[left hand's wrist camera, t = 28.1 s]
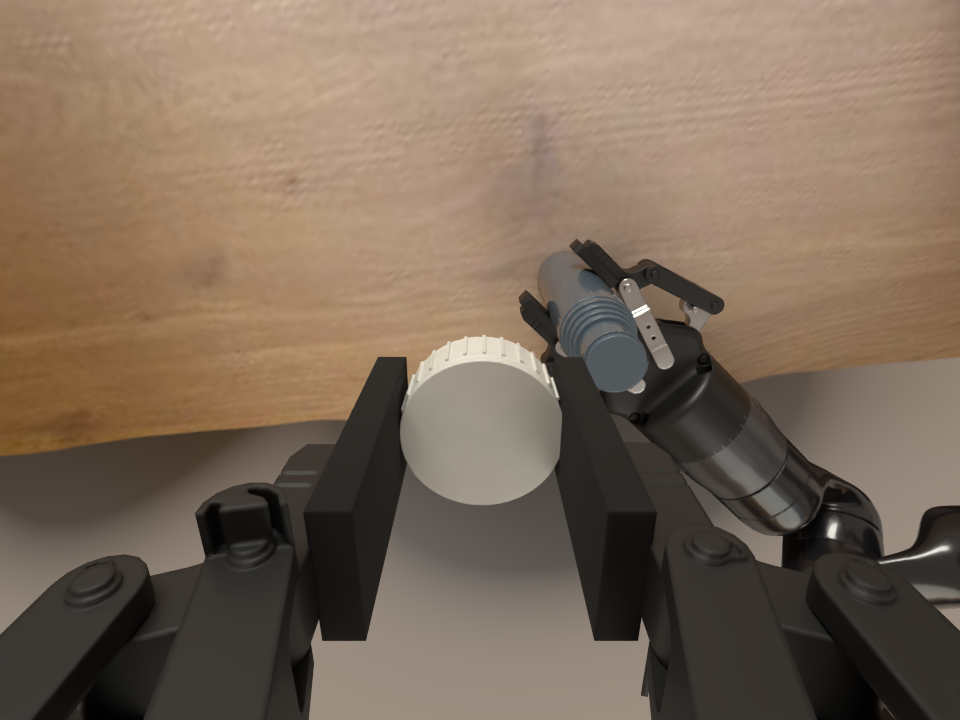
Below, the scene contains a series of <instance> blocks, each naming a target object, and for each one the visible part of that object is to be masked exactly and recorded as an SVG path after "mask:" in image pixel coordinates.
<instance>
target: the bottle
mask: <svg viewBox="0 0 960 720" xmlns="http://www.w3.org/2000/svg"><path fill="white" fill-rule="evenodd" d="M538 285H539V288H540V291H541V294H542V296H543V299H544V302H545V305H546V307H547V310H548V313H549V315H550V318H551V321H552V323H553V326H554V329H555V331H556V334H557V337H558V340H559V342H560V345H561V348H562V350H563V352H564V353H565V355H566V356H567V357H582V358H583V360H584V362H585V364H586V366H587V368H588V370H589V372H590V374H591V376H592V378H593V380H594V382H595V385H596V387H597V388H598V389H599V390H602V391H605V392H612V393H617V392H624V391H626V390H628V389H631V388H633V387H634V386H635V385H637V384H638V383H639V382H640V381H641V380H642V378H644V376H645V374H646V372H647V370H648V364H649V362H648V361H647V356H646V351H645V348H644V346H643V344H642V343H641V341H640V340H639V339H638V332H637V325H636V321H635V319H634V317H633V315H632V313H631V311H630V310H629V308H628V307H627V306H626V305H625V304H624V303H623V302H622V301H621V300H620V299H619V297H618V296H617V295H616V294H615V293H614V292H613V291H612V290H611V289H610V288H609V286H608V285H607V284H606V283H605V282H604V281H603V280H602V279H601V278H600V277H599V276H598V275H597V274H596V273H595V272H594V271H593V270H592V269H591V268H590V267H589V266H588V265H587V264H586V263H585V262H584V261H583V260H582V259H581V258H580V257H579V256H578V255H577V254H575V253H572V252H559V253H556V254H553V255H551V256H550V257H548V258H547V259H546V260H545V261H544V262H543V264H542V265H541V267H540V269H539V272H538Z"/></svg>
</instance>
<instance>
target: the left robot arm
mask: <svg viewBox="0 0 960 720" xmlns="http://www.w3.org/2000/svg"><path fill="white" fill-rule="evenodd" d="M553 379H554V382H555V385H556V388H557V391H558V394H559V397H560V400H558V401H559V405H560V408H561V411H562V427H561V442H560V457H559V460H558V462H557V464H556V466H555V472H556V477H557V481H558V485H559V490H560V494H561V498H562V502H563V507H564V511H565V515H566V520H567V524H568V528H569V533H570V537H571V541H572V546H573V550H574V554H575V559H576V563H577V567H578V571H579V576H580V580H581V585H582V589H583V593H584V598H585V602H586V606H587V611H588V615H589V619H590V624H591V628H592V632H593V637H594V640H595V641H638V637H639V630H640V624H641V617H642V620H643V622H644V625H645V628H646V631H647V634H648V637H649V640H650V641H649V648H648V654H647V660H646V666H645V672H644V678H643V685H642V692H641V695H642V696H646V697H648V693H649V699H650V709H651V720H895V719H896V720H960V631H959V630H958V629H957V628H956V627H955V626H954V625H953V624H952V623H951V622H950V621H949V620H948V619H947V618H946V617H945V616H944V615H943V614H942V613H941V612H940V611H939V610H938V609H937V608H936V607H935V606H933V605H932V604H931V603H930V602H929V601H928V600H927V599H926V598H925V597H924V596H923V595H922V594H921V593H920V592H919V591H918V590H917V589H916V588H915V587H914V586H913V585H912V584H911V583H909V582H908V581H907V580H905V579H904V578H903V577H902V576H900V575H899V574H898V573H896V572H895V571H894V570H892V569H890V568H888V567H886V566H884V565H882V564H880V563H878V562H876V561H874V560H871V559H868V558H865V557H861V556H858V555H855V554H847V553H837V552H835V553H830V554H825V555H822V556H821V557H820V558H819V559H817V560H816V561H815V562H814V565H813V569H812V572H811V574H809V573H804V572H800V571H795V570H791V569H787V568H782V567H778V566H773V565H770V564H767V563H763V562H760V561H757V560H756V559H755V557H754V555H753V554H752V552H751V551H750V549H749V548H748V546H747V545H746V544H745V543H744V542H742V541H741V540H740V539H739V538H737V537H736V536H735V535H733V534H731V533H729V532H727V531H725V530H723V529H721V528H718V527H714V525H713V524H712V522H711V520H710V519H709V517H708V515H707V514H706V512H705V511H704V509H703V507H702V506H701V504H700V503H699V501H698V499H697V498H696V496H695V494H694V493H693V491H692V490H691V488H690V486H687V481H686V480H685V478H684V477H683V475H682V473H680V472H679V471H680V470H679V468H678V467H677V465H676V464H675V462H674V460H673V459H672V457H671V455H669V454H668V453H667V452H665V451H664V450H662V449H661V448H660V447H658V446H657V445H656V444H654V443H624V442H623V440H622V438H621V436H620V434H619V432H618V430H617V428H616V426H615V424H614V422H613V420H612V418H611V415H610V413H609V411H608V409H607V407H606V405H605V403H604V401H603V399H602V397H601V395H600V393H599V391H598V389H597V387H596V385H595V382H594V380H593V378H592V376H591V374H590V372H589V370H588V368H587V366H586V364H585V362H584V360H583V358H582V357H554V367H553ZM407 389H408V379H407V361H406V357H378V358H377V361H376V363H375V365H374V367H373V369H372V371H371V373H370V375H369V377H368V379H367V381H366V383H365V385H364V387H363V389H362V391H361V394H360V396H359V398H358V400H357V402H356V404H355V406H354V408H353V410H352V412H351V414H350V416H349V418H348V420H347V422H346V424H345V427H344V429H343V431H342V433H341V435H340V437H339V439H338V441H337V443H336V444H307V445H306V446H304V447H303V448H302V449H300V450H299V451H298V452H296V453H295V454H294V455H292V456H291V457H290V458H289V460H288V462H287V463H286V465H285V466H284V468H283V470H282V471H281V475H279V476H278V478H277V479H276V481H275V483H274V485H273V484H269V483H247V484H242V485H238V486H233V487H231V488H228V489H226V490H223V491H221V492H219V493H216V494H215V495H214V496H212V497H211V498H209V499H208V500H206V501H205V502H204V503H203V504H202V505H201V506H200V508H199V509H198V510H197V512H196V513H195V515H196V520H197V523H198V528H199V532H200V536H201V540H202V544H203V548H204V553H205V560H204V563H201V564H198V565H195V566H191V567H188V568H184V569H179V570H175V571H170V572H166V573H161V574H157V575H153V576H150V574H149V571H148V567H147V564H146V563H145V562H143V561H142V560H141V559H140V558H139V557H135V556H130V555H116V556H107V557H104V558H100V559H97V560H94V561H91V562H88V563H86V564H84V565H82V566H80V567H78V568H76V569H74V570H72V571H70V572H68V573H67V574H65V575H64V576H63V577H61V578H60V579H59V580H58V581H56V582H55V583H54V584H52V585H51V586H50V587H49V588H48V589H47V590H46V591H45V592H44V593H43V594H42V595H41V596H40V597H39V598H38V599H37V600H36V601H35V602H34V603H32V604H31V605H30V606H29V607H28V608H27V609H26V610H25V611H24V612H23V613H22V614H21V615H20V616H19V617H18V618H17V619H16V620H15V621H14V622H13V623H12V624H11V625H10V626H9V627H8V628H7V629H6V630H5V631H4V632H3V633H2V634H1V635H0V720H309V710H310V700H311V689H312V679H313V668H314V661H313V654H312V648H311V641H312V638H313V635H314V632H315V629H316V626H317V623H318V620H319V621H320V628H321V634H322V640H323V641H366V638H367V634H368V630H369V625H370V621H371V617H372V612H373V608H374V604H375V599H376V595H377V590H378V586H379V582H380V578H381V573H382V568H383V565H384V560H385V556H386V552H387V547H388V543H389V539H390V534H391V530H392V526H393V521H394V517H395V513H396V508H397V504H398V500H399V495H400V491H401V487H402V482H403V478H404V474H405V469H406V465H407V461H406V460H405V457H404V454H403V452H402V448H401V443H400V433H399V431H400V421H401V417H402V413H401V408H402V405H403V401H404V398H405V395H406V391H407ZM885 706H886V707H887V708H886V707H885ZM887 709H888V710H889V711H890V712H889V711H888V710H887ZM74 710H75V711H74ZM890 713H891V714H892V715H893V716H892V715H891V714H890ZM71 714H72V715H71Z"/></svg>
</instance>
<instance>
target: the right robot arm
mask: <svg viewBox="0 0 960 720" xmlns="http://www.w3.org/2000/svg"><path fill="white" fill-rule="evenodd" d="M570 248H571V249H572V250H573V251H574V252H575V253H576V254H577V255H578V256H579V257H580V258H581V259H582V260H583V261H584V262H585V263H586V264H587V265H588V266H589V267H590V268H591V269H592V270H593V271H594V272H595V273H596V274H597V275H598V276H599V277H600V278H601V279H602V280H603V281H604V282H605V283H606V284H607V285H608V286H609V287H610V288H612V287H614V289H615V291H616V293H617V295H618V297H619V299H620V300H621V301H622V302H623V303H624V304H625V305H626V306H627V307H628V308H629V310H630V311H631V313H632V315H633V317H634V319H635V321H636V325H637V332H638V339H639V340H640V341H641V343H642V344H643V346H644V348H645V351H646V356H647V361H648V362H649V364H648V370H647V372H646V374H645V376H644V378H642V380H641V381H640V382H639V383H638V384H637V385H635V386H634V387H633V388H631V389H628V390H626V391H624V392H617V393H612V392H605V391H602V390H599V391H600V395H601V397H602V399H603V401H604V403H605V405H606V407H607V409H608V411H609V412H610V413H612V414H615V415H619V416H622V417H624V418H626V419H627V420H628V421H629V422H631V423H632V424H633V425H634V426H635V427H636V428H637V429H638V430H639V431H640V432H641V433H642V434H643V435H645V436H646V437H647V438H648V439H649V440H650V441H651V442H652V443H654V444H656V445H657V446H658V447H660V448H661V449H662V450H664V451H665V452H667V453H668V454H669V455H671V457H672V459H673V460H674V462H675V464H676V465H677V467H678V468H679V470H680V471H683V472H684V473H685V474H686V475H688V476H689V477H690V478H691V479H692V480H694V481H695V482H696V483H698V484H699V485H701V486H702V487H704V488H705V489H707V490H708V491H709V492H710V493H712V494H713V495H714V496H715V497H716V498H717V499H718V500H719V501H720V502H721V503H722V504H723V505H725V506H726V507H727V508H728V509H729V510H730V511H731V512H732V513H733V514H734V515H735V516H736V517H737V518H738V519H739V520H741V521H742V522H743V523H745V524H746V525H747V526H749V527H750V528H752V529H753V530H755V531H757V532H759V533H762V534H765V535H770V536H783V545H782V561H781V567H782V568H787V569H791V570H795V571H800V572H804V573H809V574H811V572H812V569H813V565H814V562H815V561H816V560H817V559H819V558H820V557H821V556H822V555H825V554H830V553H835V552H837V553H847V554H855V555H858V556H861V557H865V558H868V559H871V560H874V561H876V562H878V563H880V564H882V565H884V566H886V567H888V568H890V569H892V570H894V571H895V572H896V573H898V574H899V575H900V576H902V577H903V578H904V579H905V580H907V581H908V582H909V583H911V584H912V585H913V586H914V587H915V588H916V589H917V590H918V591H919V592H920V593H921V594H922V595H923V596H924V597H925V598H926V599H927V600H928V601H929V602H930V603H931V604H932V605H933V606H935V607H936V608H937V609H938V610H945V609H956V608H960V505H957V506H938V507H933V508H930V509H928V510H927V511H925V513H924V514H923V516H922V518H921V521H920V525H919V530H918V535H917V538H916V541H915V543H914V544H913V546H912V547H910V548H909V549H907V550H904V551H901V552H898V553H895V554H891V555H888V556H884V545H883V531H882V523H881V520H880V517H879V514H878V512H877V510H876V508H875V507H874V505H873V503H872V502H871V500H870V499H869V498H868V497H867V496H866V495H865V494H864V493H863V492H862V491H861V490H860V489H858V488H857V487H855V486H854V485H852V484H850V483H848V482H846V481H845V480H843V479H841V478H839V477H837V476H835V475H834V474H832V473H830V472H828V471H827V470H825V469H823V468H821V467H819V466H817V465H815V464H813V463H811V462H809V461H808V460H807V459H806V458H805V457H804V456H803V455H802V454H801V453H800V452H799V451H798V450H797V448H796V447H795V446H794V445H793V444H792V443H791V442H790V441H789V440H788V439H787V438H786V437H785V436H784V435H783V434H782V433H781V432H780V431H779V429H778V428H777V426H776V425H775V423H774V422H773V420H772V419H771V418H770V416H769V415H768V414H767V413H766V412H765V410H764V409H763V408H762V407H761V405H760V404H759V402H758V401H757V400H756V399H755V398H753V397H751V396H750V395H749V394H748V393H747V392H746V391H745V390H744V389H743V388H742V387H741V386H740V384H739V383H738V382H737V381H736V380H735V379H734V378H733V377H732V376H731V375H730V374H729V373H728V372H727V371H726V370H725V369H724V368H723V367H722V366H721V365H720V364H719V363H718V362H717V361H716V360H715V359H714V358H713V357H712V356H711V355H710V354H709V352H708V351H707V350H706V349H705V347H704V345H703V341H702V336H701V334H700V332H699V331H700V330H701V328H702V327H703V325H704V324H705V323H706V321H707V320H708V318H709V317H710V315H711V314H718V313H720V312H721V311H722V310H723V308H724V301H723V300H722V299H721V298H719V297H718V296H716V295H715V294H713V293H711V292H710V291H708V290H706V289H704V288H703V287H701V286H699V285H697V284H695V283H693V282H691V281H689V280H687V279H685V278H683V277H682V276H680V275H678V274H676V273H674V272H672V271H670V270H668V269H666V268H664V267H662V266H661V265H659V264H657V263H655V262H653V261H651V260H649V259H643V260H641V261H639V262H638V264H637V265H636V266H634V267H631V268H629V269H622V268H620V267H619V266H618V265H617V264H616V263H615V262H614V260H613V259H612V258H611V257H610V256H609V255H608V254H607V253H606V252H605V251H604V250H603V249H602V248H601V247H600V246H599V245H598V244H596V243H595V242H593V241H591V240H587V241H586V242H585V243H584V244H583V245H582V244H581V243H580V242H579V241H578V240H577V239H576V240H575V241H574V242H573V243H572V244H571V245H570ZM651 283H652V284H653V285H655V286H657V287H659V288H661V289H663V290H665V291H667V292H669V293H671V294H673V295H675V296H677V297H679V298H681V300H680V302H679V307H680V309H681V310H682V311H683V312H684V313H685V315H686V319H685V322H679V321H672V320H664V319H656V318H654V316H653V314H652V312H651V310H650V309H649V307H648V306H647V304H646V302H645V300H644V298H643V296H642V294H641V292H640V289H641V288H643V287H645V286H647V285H649V284H651ZM519 301H520V303H521V305H522V306H521V307H520V312H521V315H522V317H523V319H524V321H525V322H527V323H528V324H529V325H530V326H531V327H532V328H533V329H534V330H535V331H536V332H537V333H538V334H539V335H540V336H542V337H543V338H544V339H545V340H546V341H547V342H548V347H547V349H546V351H545V352H544V353H543V354H542V355H541V363H542V364H545V365H546V368H547V371H548V374H549V375H550V378H551V377H553V367H554V357H567V356H566V355H565V353H564V352H563V350H562V348H561V345H560V342H559V340H558V337H557V334H556V331H555V329H554V326H553V323H552V321H551V318H550V315H549V313H548V310H547V309H546V308H545V307H543V306H542V305H541V304H540V303H539V302H538V301H537V300H536V299H535V298H534V297H533V296H532V295H531V294H530V293H529V292H528V291H526V290H525V291H524V292H523V293H522V294H521V295H520V296H519Z"/></svg>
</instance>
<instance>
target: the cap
mask: <svg viewBox="0 0 960 720" xmlns="http://www.w3.org/2000/svg"><path fill="white" fill-rule="evenodd" d="M558 400H560V397H559V394H558V391H557V388H556V385H555V382H554V379H553V377H551V378H550V375H549V374H548V371H547V368H546V365H545V364H542V363H541V362H540V361H539V360H538V359H537V358H536V357H535V354H534V353H533V352H531V353H530V352H529V351H527V350H526V349H524V348H523V347H521V346H520V344H519V343H517V344H515V343H512V342H510V341H507V340H503V337H500V339H499V338H494V337H486V335H482V337H471V338H468V336H466V337H464V339H461V340H457V341H454V342H452V343H451V342H450V341H449V342H447V345H445V346H443V347H442V348H440V349H438V350H437V351H436V350H433V352H432V354H431V355H430V356H429V357H428V358H427V359H426V360H425V361H424V362H423V361H421V363H420V366H419V369H418V370H417V372H416V374H415V375H414V374H413V375H412V377H411V380H410V384H409V387H408V389H407V391H406V395H405V398H404V401H403V405H402V408H401V413H402V417H401V421H400V431H399V433H400V443H401V448H402V452H403V454H404V457H405V460H406V461H407V463H408V465H409V467H410V469H411V470H412V471H413V473H414V474H415V475H416V476H417V478H418V479H419V480H420V481H421V482H422V483H423V484H425V485H426V486H427V487H428V488H430V489H431V490H433V491H434V492H436V493H437V494H439V495H441V496H444V497H446V498H448V499H451V500H454V501H457V502H461V503H466V504H473V505H491V504H499V503H503V502H508V501H511V500H514V499H516V498H519V497H521V496H523V495H525V494H527V493H528V492H530V491H532V490H533V489H535V488H536V487H537V486H538V485H540V484H541V483H542V482H543V481H544V480H545V479H546V478H547V477H548V476H549V475H550V473H551V472H552V470H553V469H554V468H555V466H556V464H557V462H558V460H559V457H560V442H561V427H562V411H561V408H560V405H559V401H558Z"/></svg>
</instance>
